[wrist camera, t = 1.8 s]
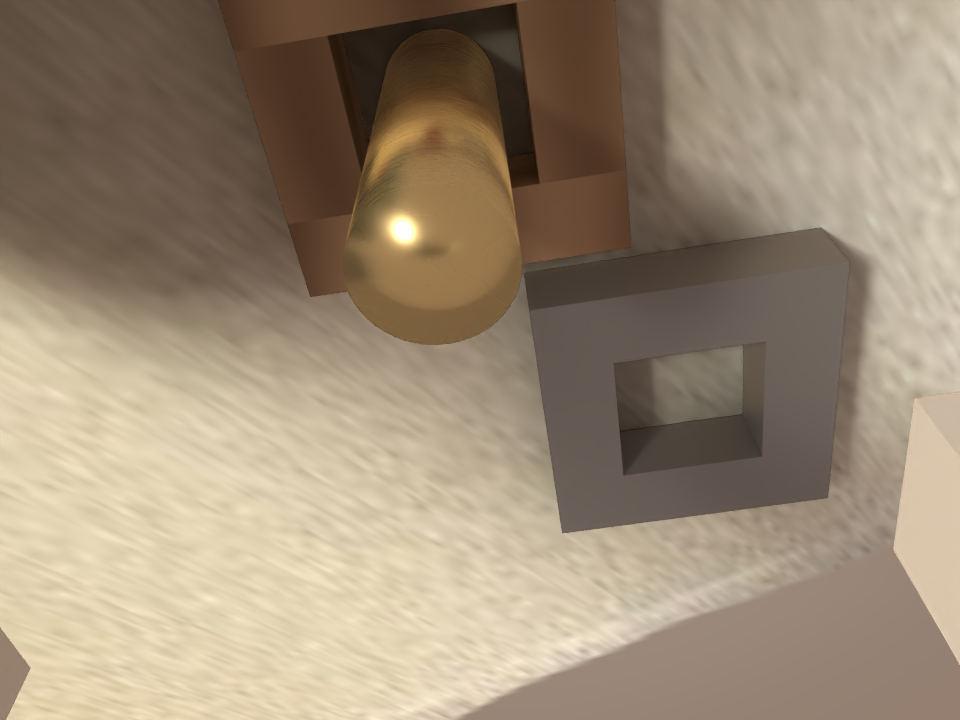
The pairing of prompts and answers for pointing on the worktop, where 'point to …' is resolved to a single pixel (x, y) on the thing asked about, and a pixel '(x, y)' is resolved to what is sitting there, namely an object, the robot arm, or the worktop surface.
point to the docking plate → (682, 329)
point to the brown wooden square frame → (343, 141)
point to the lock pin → (435, 198)
